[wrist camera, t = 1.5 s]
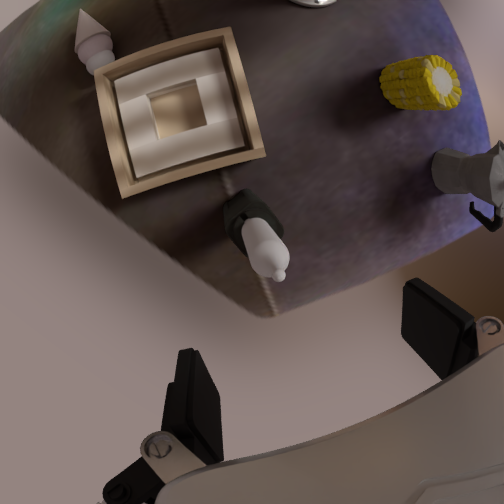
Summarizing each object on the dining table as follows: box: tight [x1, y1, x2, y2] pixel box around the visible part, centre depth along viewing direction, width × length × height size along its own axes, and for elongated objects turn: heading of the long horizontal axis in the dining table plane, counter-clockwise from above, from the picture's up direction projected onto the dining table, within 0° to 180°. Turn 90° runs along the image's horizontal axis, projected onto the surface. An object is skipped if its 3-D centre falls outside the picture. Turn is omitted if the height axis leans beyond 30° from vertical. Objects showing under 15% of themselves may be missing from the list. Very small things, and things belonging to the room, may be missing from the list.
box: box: [94, 27, 266, 199], centre depth 32 cm, size 19×19×6 cm
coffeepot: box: [431, 140, 504, 232], centre depth 34 cm, size 15×9×18 cm, turn 3°
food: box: [379, 55, 462, 111], centre depth 31 cm, size 14×11×9 cm
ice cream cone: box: [75, 9, 115, 75], centre depth 26 cm, size 6×6×15 cm
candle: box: [223, 189, 289, 282], centre depth 29 cm, size 5×5×25 cm
